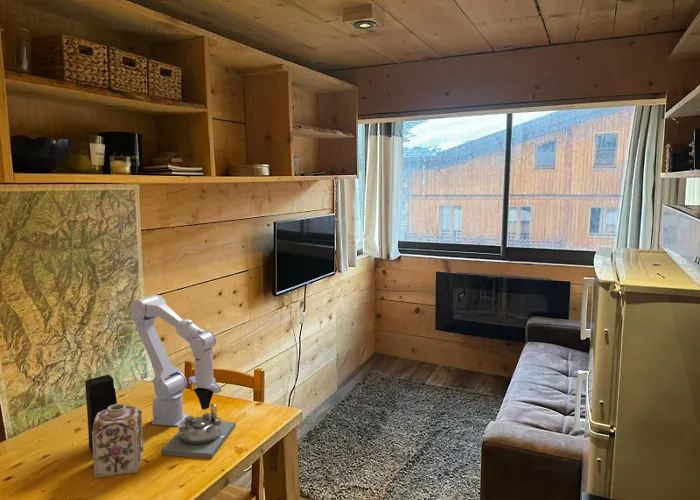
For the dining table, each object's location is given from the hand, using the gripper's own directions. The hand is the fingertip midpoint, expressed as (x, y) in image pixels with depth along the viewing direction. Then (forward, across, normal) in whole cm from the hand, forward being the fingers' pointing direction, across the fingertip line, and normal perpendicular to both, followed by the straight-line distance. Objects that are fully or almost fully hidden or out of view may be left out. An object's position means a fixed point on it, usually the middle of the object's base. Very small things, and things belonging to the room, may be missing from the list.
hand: (205, 408), depth 167 cm
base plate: (+7, -4, +6) cm, 10 cm away
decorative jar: (+8, +2, +29) cm, 30 cm away
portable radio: (+7, +14, +27) cm, 31 cm away
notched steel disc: (+6, -4, +5) cm, 9 cm away
